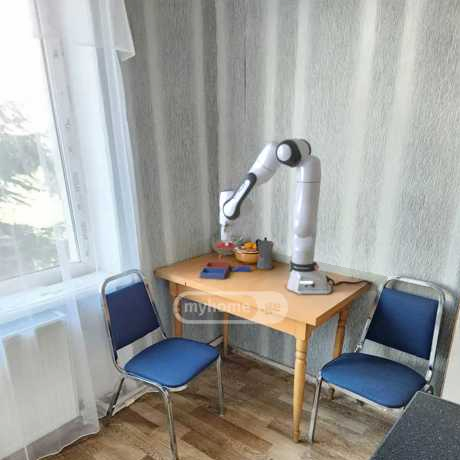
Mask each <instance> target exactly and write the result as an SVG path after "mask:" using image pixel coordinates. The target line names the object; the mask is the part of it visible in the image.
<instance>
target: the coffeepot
mask: <svg viewBox="0 0 460 460" xmlns="http://www.w3.org/2000/svg"><path fill="white" fill-rule="evenodd" d="M254 243H255V247H256V252H257V251H258V252H259V253H258V252H257V253H258V259H257V264H256V268H257V269H259V270H262V271H263V270H264V271H267V270H271V269H272V268H273V260H272V254H273V250H274V249H273V248H274V242H273V241H272V240H268V237H265V236H264V238H263V240H262V239H259V238H257V239H256V240H255V242H254Z"/></svg>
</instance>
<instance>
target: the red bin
mask: <svg viewBox="0 0 460 460" xmlns="http://www.w3.org/2000/svg"><path fill="white" fill-rule="evenodd" d="M204 268H222V269H227V273H228V272H229V270H230V269H231V262H224V261H207V263H206V264H205V266H204Z"/></svg>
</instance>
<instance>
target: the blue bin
mask: <svg viewBox="0 0 460 460" xmlns="http://www.w3.org/2000/svg"><path fill="white" fill-rule="evenodd" d="M227 274H228V272H227V269H222V268H205V267H203V269H202V270H201V271H200V273H199V276H200V279H212V280H213V279H215V280H225V278H226V277H227Z"/></svg>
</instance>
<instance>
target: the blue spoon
mask: <svg viewBox="0 0 460 460" xmlns="http://www.w3.org/2000/svg"><path fill="white" fill-rule="evenodd" d="M231 271H232V272H248V273H249V272H251V266H249V265H237V267H232V268H231Z"/></svg>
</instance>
